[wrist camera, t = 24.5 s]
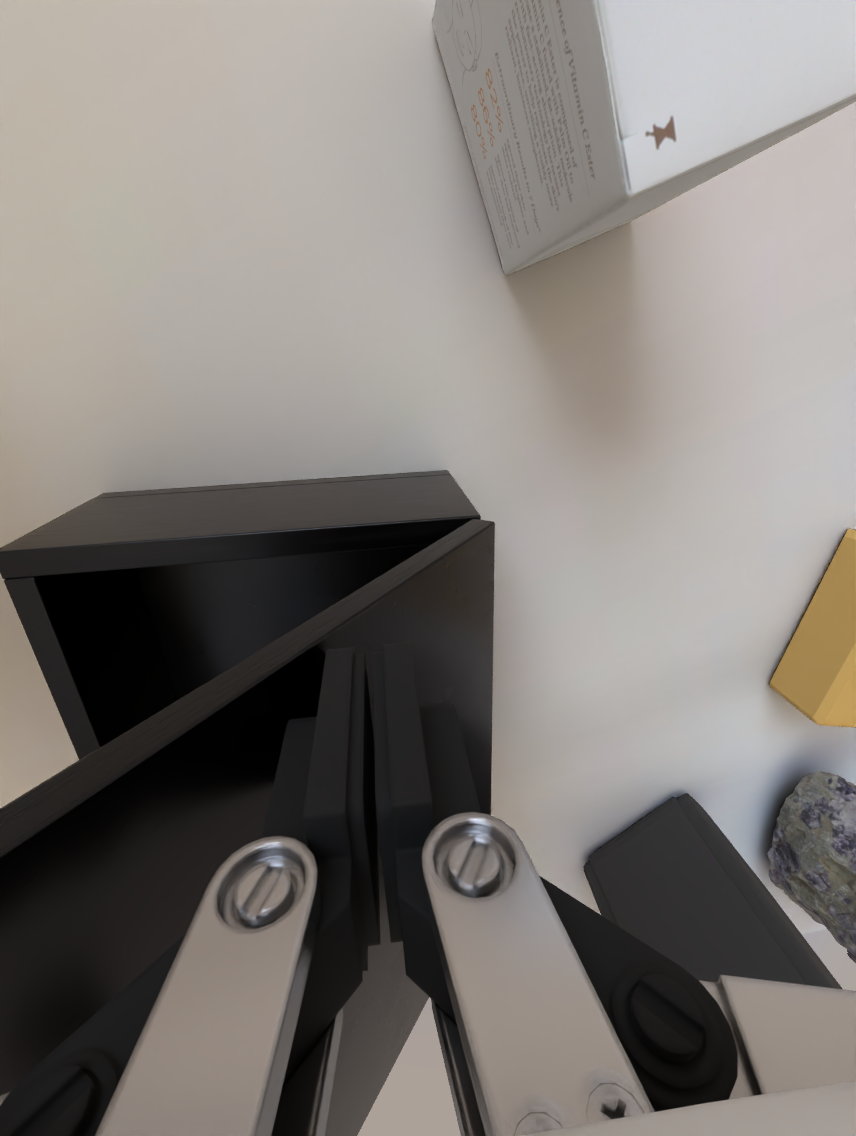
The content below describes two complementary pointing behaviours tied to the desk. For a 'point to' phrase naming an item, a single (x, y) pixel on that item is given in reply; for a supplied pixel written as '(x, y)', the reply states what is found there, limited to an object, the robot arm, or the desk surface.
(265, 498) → the black open box
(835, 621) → the rubber stamp
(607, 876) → the card reader
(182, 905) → the black box lid
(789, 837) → the mineral rock
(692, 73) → the small box
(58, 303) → the desk surface
